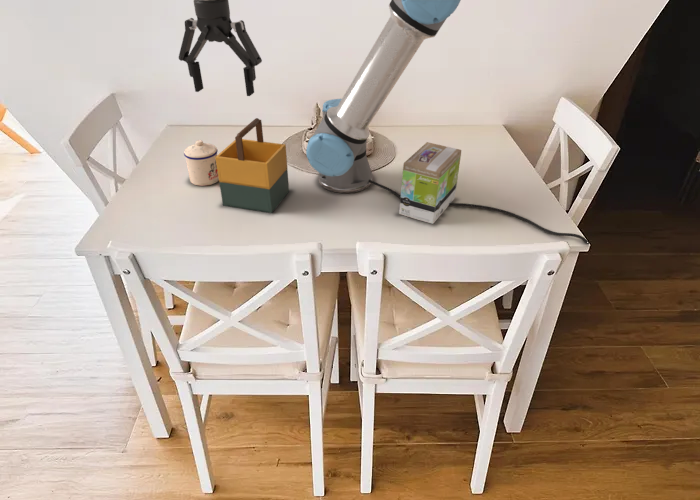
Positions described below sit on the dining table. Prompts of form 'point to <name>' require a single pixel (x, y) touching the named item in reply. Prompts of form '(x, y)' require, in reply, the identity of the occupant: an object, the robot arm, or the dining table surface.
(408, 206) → the tea box
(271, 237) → the dining table surface
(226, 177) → the ochre basket
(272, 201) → the green basket
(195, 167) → the teacup with lid
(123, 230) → the dining table surface
